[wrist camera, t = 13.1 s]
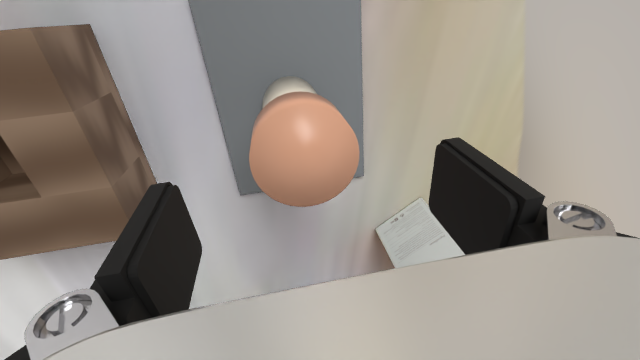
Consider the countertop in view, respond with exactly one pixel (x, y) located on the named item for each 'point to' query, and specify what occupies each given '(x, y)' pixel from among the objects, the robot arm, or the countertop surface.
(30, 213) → the socket block
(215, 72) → the mat
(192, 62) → the countertop surface
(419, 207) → the small box
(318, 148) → the plug
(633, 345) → the robot arm
